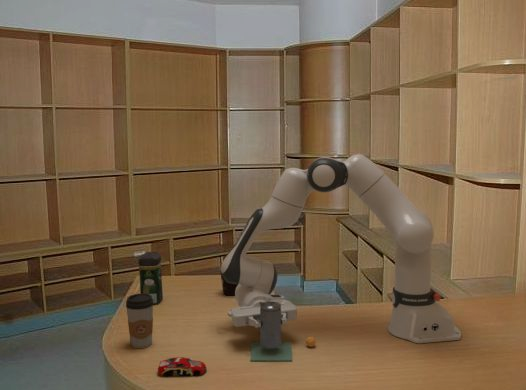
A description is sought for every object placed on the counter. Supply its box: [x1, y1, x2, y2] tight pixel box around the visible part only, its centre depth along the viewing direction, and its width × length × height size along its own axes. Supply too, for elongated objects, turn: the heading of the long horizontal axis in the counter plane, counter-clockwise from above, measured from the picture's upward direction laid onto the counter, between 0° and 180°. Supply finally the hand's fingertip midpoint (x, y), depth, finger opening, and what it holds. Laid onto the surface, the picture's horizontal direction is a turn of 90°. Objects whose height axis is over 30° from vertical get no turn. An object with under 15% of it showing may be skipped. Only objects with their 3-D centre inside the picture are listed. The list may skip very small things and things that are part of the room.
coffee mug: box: [219, 268, 239, 297], centre depth 214 cm, size 12×9×10 cm
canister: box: [259, 302, 282, 348], centre depth 161 cm, size 6×6×12 cm
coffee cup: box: [125, 293, 155, 349], centre depth 167 cm, size 8×8×15 cm
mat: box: [249, 341, 293, 363], centre depth 162 cm, size 12×12×1 cm
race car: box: [157, 356, 207, 378], centre depth 150 cm, size 13×5×4 cm, turn 91°
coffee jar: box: [138, 251, 164, 305], centre depth 205 cm, size 10×8×19 cm
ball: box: [305, 336, 317, 348], centre depth 166 cm, size 3×3×3 cm
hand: (271, 323), depth 160 cm, fingers closed on canister, 6 cm apart
